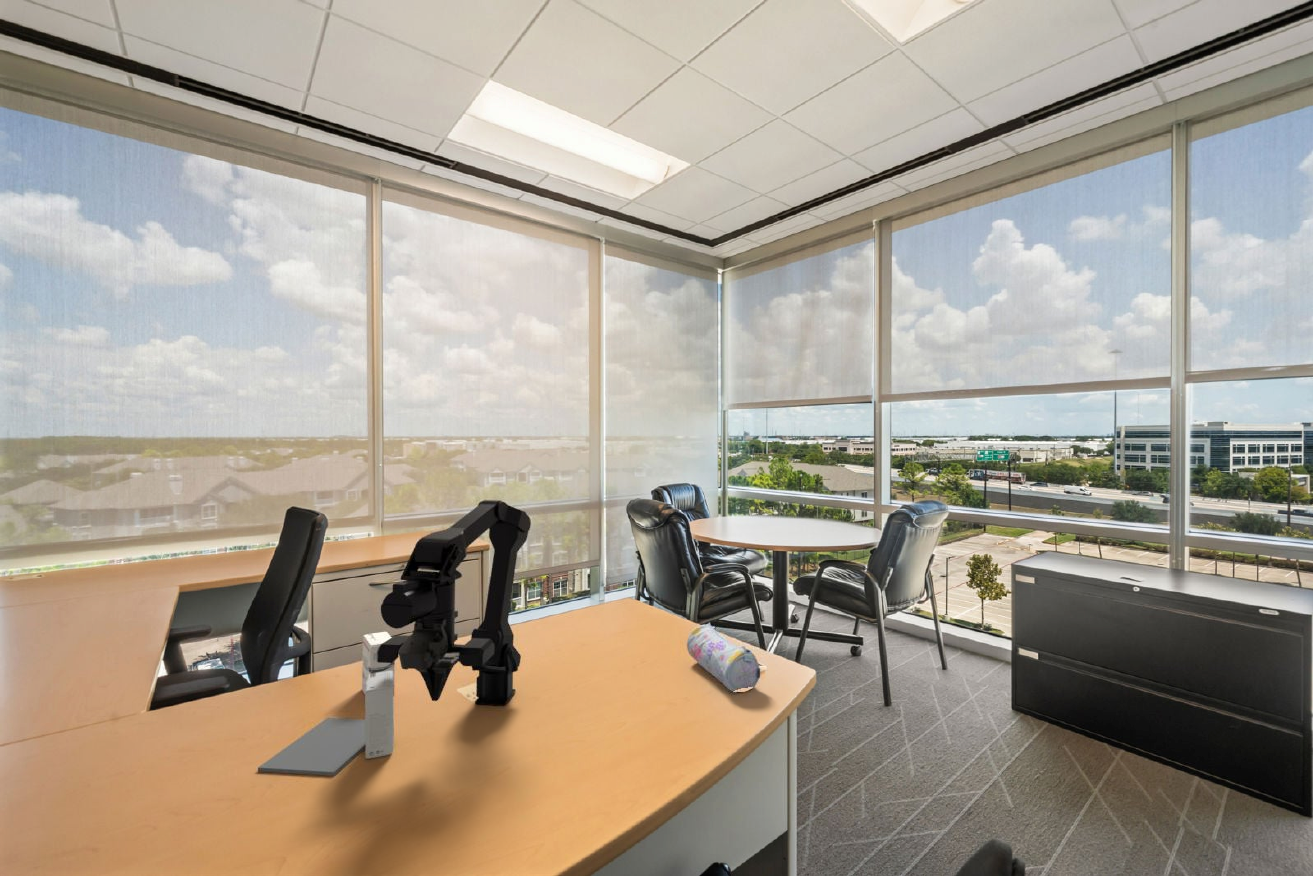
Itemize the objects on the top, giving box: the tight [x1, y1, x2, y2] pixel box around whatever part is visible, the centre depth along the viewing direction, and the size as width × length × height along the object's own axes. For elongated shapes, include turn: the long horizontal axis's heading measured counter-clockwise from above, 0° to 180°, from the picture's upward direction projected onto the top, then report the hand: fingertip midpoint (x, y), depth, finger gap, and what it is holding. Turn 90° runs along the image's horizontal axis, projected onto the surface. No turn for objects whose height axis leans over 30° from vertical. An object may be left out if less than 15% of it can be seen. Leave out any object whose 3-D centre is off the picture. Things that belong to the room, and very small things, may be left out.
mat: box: [257, 717, 365, 777], centre depth 92 cm, size 13×16×1 cm
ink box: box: [361, 631, 396, 695], centre depth 113 cm, size 8×5×12 cm, turn 39°
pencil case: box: [686, 623, 761, 692], centre depth 123 cm, size 21×9×10 cm, turn 24°
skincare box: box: [364, 671, 395, 760], centre depth 91 cm, size 6×4×12 cm
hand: (435, 700), depth 91 cm, fingers closed
